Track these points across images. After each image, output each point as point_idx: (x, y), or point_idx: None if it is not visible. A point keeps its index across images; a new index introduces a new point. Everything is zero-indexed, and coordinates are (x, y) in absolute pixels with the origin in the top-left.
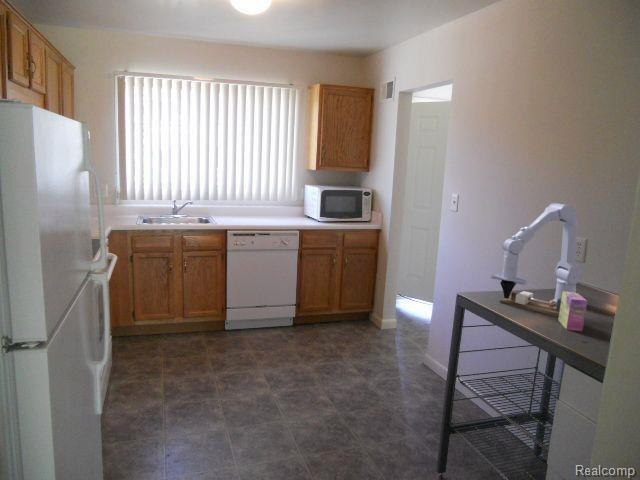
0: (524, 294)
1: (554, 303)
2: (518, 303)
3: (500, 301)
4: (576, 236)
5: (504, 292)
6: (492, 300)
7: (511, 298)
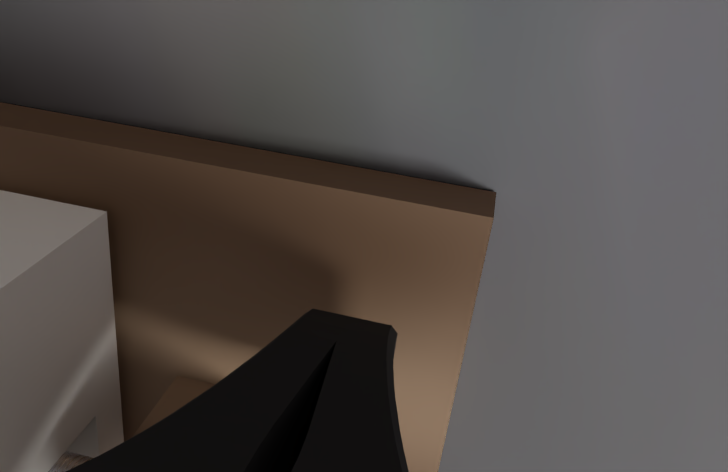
0: None
1: None
2: None
3: (477, 201)
4: None
5: (356, 417)
6: (709, 283)
7: None
